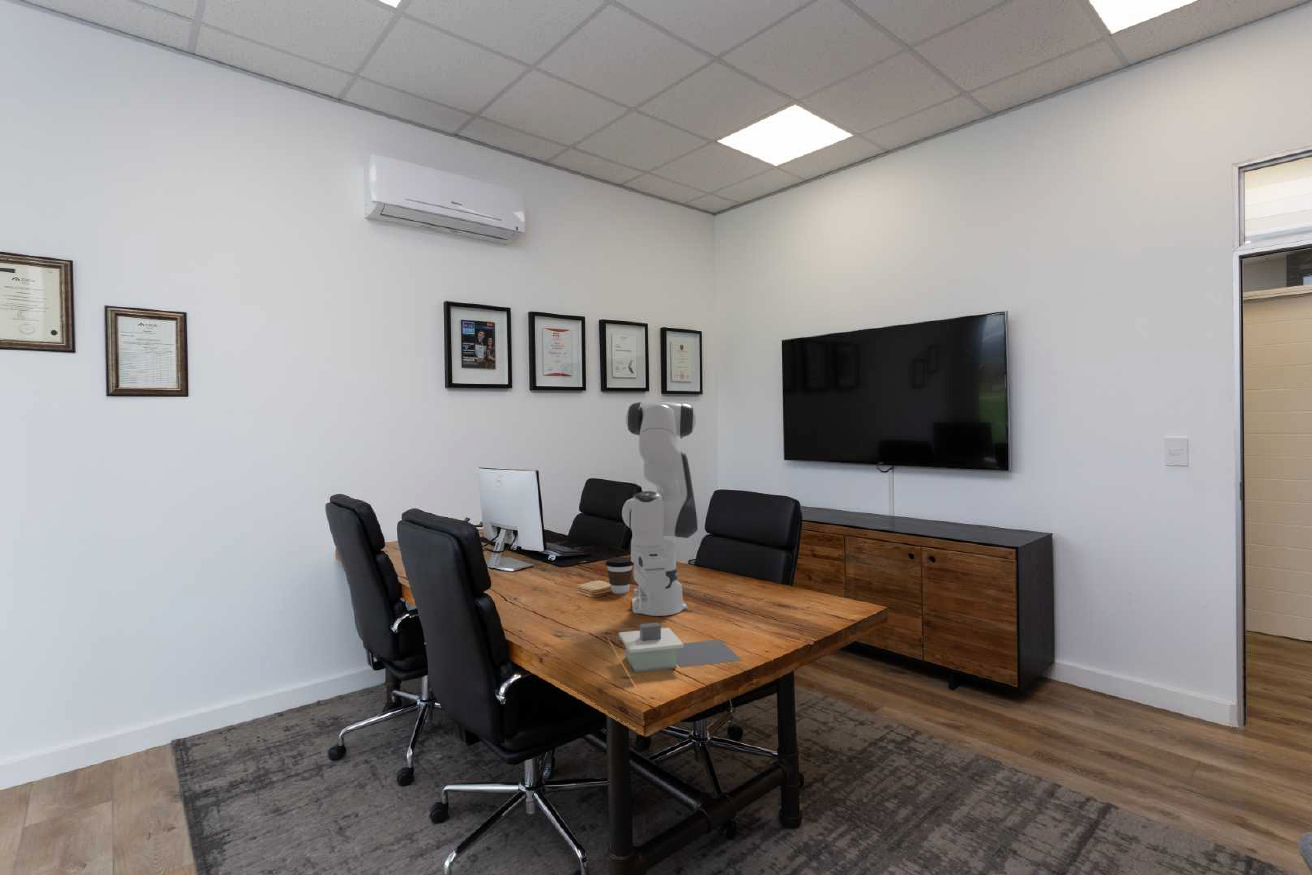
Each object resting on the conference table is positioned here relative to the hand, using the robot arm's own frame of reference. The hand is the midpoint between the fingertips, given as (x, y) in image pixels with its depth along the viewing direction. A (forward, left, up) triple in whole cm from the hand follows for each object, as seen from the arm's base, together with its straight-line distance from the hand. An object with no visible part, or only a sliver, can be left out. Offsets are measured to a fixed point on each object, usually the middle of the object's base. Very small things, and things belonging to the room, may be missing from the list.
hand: (648, 606), depth 170 cm
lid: (0, 0, -9) cm, 9 cm away
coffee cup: (-73, +7, -15) cm, 75 cm away
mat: (-2, +15, -15) cm, 22 cm away
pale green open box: (+1, 0, -15) cm, 15 cm away
